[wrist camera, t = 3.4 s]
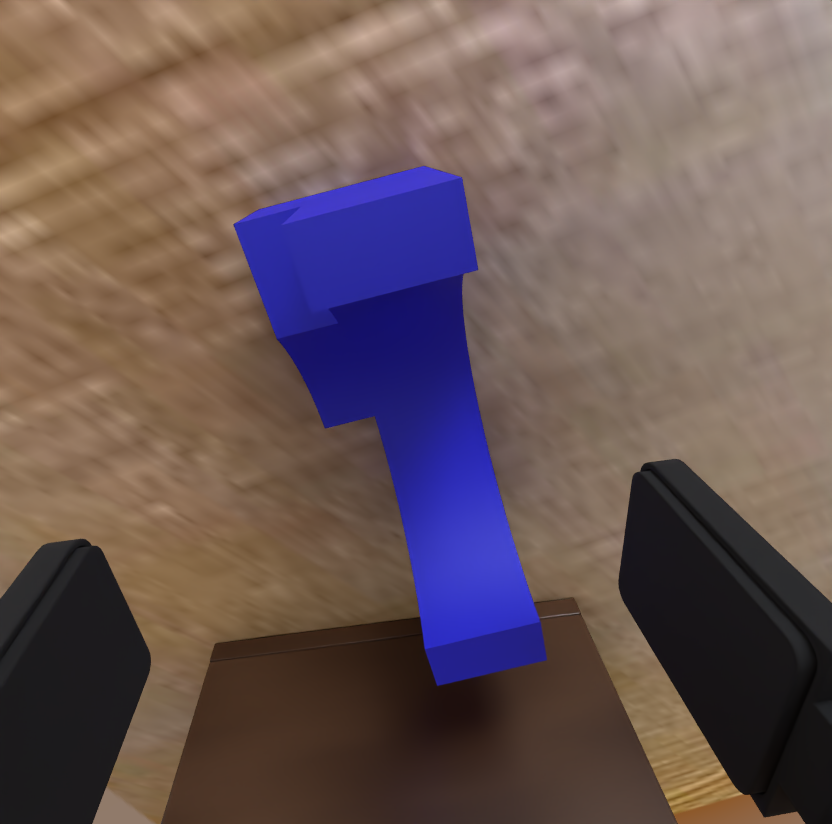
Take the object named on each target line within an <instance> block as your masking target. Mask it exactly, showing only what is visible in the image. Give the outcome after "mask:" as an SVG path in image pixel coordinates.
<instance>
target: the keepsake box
mask: <svg viewBox="0 0 832 824" xmlns="http://www.w3.org/2000/svg"><path fill="white" fill-rule="evenodd" d="M534 605H535V608H536V611H537V614H538V616H539V619H540V622H541V628H542V633H543V639H544V645H545V650H546V656H547V660H545V661H541V662H537V663H533V664H528V665H524V666H520V667H516V668H511V669H507V670H503V671H499V672H494V673H490V674H486V675H482V676H477V677H473V678H469V679H465V680H460V681H456V682H452V683H448V684H443V685H439V686H437V684H436V681H435V678H434V675H433V672H432V669H431V666H430V663H429V660H428V657H427V654H426V651H425V647H424V639H423V632H422V625H421V618H414V619H407V620H399V621H391V622H383V623H375V624H368V625H360V626H352V627H344V628H336V629H328V630H321V631H313V632H305V633H297V634H289V635H281V636H274V637H266V638H258V639H250V640H242V641H235V642H227V643H219V644H215V645H214V649H213V652H212V655H211V658H210V664H209V667H208V670H207V673H206V677H205V680H204V683H203V687H202V690H201V693H200V697H199V700H198V703H197V706H196V710H195V713H194V716H193V720H192V723H191V726H190V730H189V733H188V736H187V739H186V743H185V746H184V749H183V753H182V756H181V759H180V763H179V766H178V769H177V773H176V776H175V779H174V782H173V786H172V789H171V792H170V796H169V799H168V802H167V806H166V809H165V812H164V816H163V819H162V822H161V824H678V823H677V821H676V819H675V817H674V815H673V812H672V810H671V808H670V806H669V804H668V802H667V799H666V797H665V795H664V793H663V791H662V789H661V787H660V784H659V782H658V780H657V778H656V776H655V774H654V771H653V769H652V767H651V765H650V763H649V761H648V758H647V756H646V754H645V752H644V750H643V748H642V745H641V743H640V741H639V739H638V737H637V735H636V732H635V730H634V728H633V726H632V724H631V722H630V719H629V717H628V715H627V713H626V711H625V709H624V707H623V704H622V702H621V700H620V698H619V696H618V694H617V691H616V689H615V687H614V685H613V683H612V681H611V678H610V676H609V674H608V672H607V670H606V668H605V665H604V663H603V661H602V659H601V657H600V655H599V652H598V650H597V648H596V646H595V644H594V642H593V640H592V637H591V635H590V633H589V631H588V629H587V627H586V624H585V622H584V620H583V618H582V616H581V613H580V610H579V608H578V606H577V604H576V602H575V600H574V598H571V599H563V600H555V601H547V602H540V603H534Z"/></svg>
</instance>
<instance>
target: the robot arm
mask: <svg viewBox="0 0 832 824" xmlns="http://www.w3.org/2000/svg"><path fill="white" fill-rule="evenodd" d="M619 590H620V594H621V597H622V599H623V601H624V603H625V605H626V607H627V608H628V610H629V612H630V613H631V615H632V617H633V618H634V620H635V622H636V623H637V625H638V627H639V628H640V630H641V632H642V633H643V635H644V637H645V638H646V640H647V642H648V643H649V645H650V647H651V648H652V650H653V652H654V653H655V655H656V657H657V658H658V660H659V662H660V663H661V665H662V667H663V668H664V670H665V672H666V673H667V675H668V677H669V678H670V680H671V682H672V683H673V685H674V687H675V688H676V690H677V691H678V693H679V695H680V696H681V698H682V700H683V701H684V703H685V705H686V706H687V708H688V710H689V711H690V713H691V715H692V716H693V718H694V720H695V721H696V723H697V725H698V726H699V728H700V730H701V731H702V733H703V735H704V736H705V738H706V740H707V741H708V743H709V745H710V746H711V748H712V750H713V751H714V753H715V755H716V756H717V758H718V760H719V761H720V763H721V765H722V766H723V768H724V770H725V771H726V773H727V775H728V776H729V778H730V780H731V781H732V783H733V784H734V786H735V787H736V788H737V789H738V790H739V791H740V792H741V793H743V794H744V795H749V794H750V795H751V797H752V799H753V800H754V802H755V803H756V805H757V807H758V808H759V810H760V812H761V813H762V815H763V816H764V817H770V816H775V815H780V814H786V813H791V812H798V813H799V815H800V816H801V817H802V819H803V821H804V822H805V824H832V603H831V602H830V601H829V600H828V599H827V598H826V597H825V596H824V595H823V594H822V593H821V592H820V591H819V590H818V589H817V588H815V587H814V586H813V585H812V584H811V583H810V582H809V581H808V580H807V579H806V578H805V577H804V576H803V575H802V574H801V573H800V572H799V571H798V570H796V569H795V568H794V567H793V566H792V565H791V564H790V563H789V562H788V561H787V560H786V559H785V558H784V557H783V556H782V555H781V554H780V553H779V552H778V551H776V550H775V549H774V548H773V547H772V546H771V545H770V544H769V543H768V542H767V541H766V540H765V539H764V538H763V537H762V536H761V535H760V534H759V533H757V532H756V531H755V530H754V529H753V528H752V527H751V526H750V525H749V524H748V523H747V522H746V521H745V520H744V519H743V518H742V517H741V516H740V515H739V514H737V513H736V512H735V511H734V510H733V509H732V508H731V507H730V506H729V505H728V504H727V503H726V502H725V501H724V500H723V499H722V498H721V497H720V496H718V495H717V494H716V493H715V492H714V491H713V490H712V489H711V488H710V487H709V486H708V485H707V484H706V483H705V482H704V481H703V480H702V479H701V478H700V477H698V476H697V475H696V474H695V473H694V472H693V471H692V470H691V469H690V468H689V467H688V466H687V465H686V464H685V463H684V462H682V461H681V460H679V459H671V460H664V461H656V462H649V463H645V464H644V465H643V466H642V468H641V471H640V472H637V473H635V474H634V475H633V479H632V485H631V492H630V499H629V507H628V514H627V522H626V529H625V536H624V544H623V551H622V559H621V566H620V573H619ZM150 665H151V657H150V652H149V649H148V647H147V645H146V643H145V641H144V639H143V637H142V634H141V632H140V630H139V628H138V626H137V624H136V622H135V619H134V617H133V615H132V613H131V611H130V609H129V607H128V605H127V602H126V600H125V598H124V596H123V594H122V592H121V590H120V588H119V585H118V583H117V581H116V579H115V577H114V575H113V573H112V571H111V568H110V566H109V564H108V562H107V560H106V558H105V556H104V553H103V552H102V550H101V548H99V547H98V546H92V545H91V544H90V542H88V541H87V540H86V539H76V540H69V541H61V542H54V543H47V544H45V545H43V546H42V547H41V548H40V549H39V550H38V551H37V552H36V553H35V555H34V556H33V557H32V559H31V560H30V561H29V562H28V564H27V565H26V566H25V568H24V569H23V570H22V572H21V573H20V574H19V575H18V577H17V578H16V579H15V581H14V582H13V583H12V585H11V586H10V587H9V589H8V590H7V591H6V592H5V594H4V595H3V596H2V598H1V599H0V824H92V823H93V820H94V818H95V815H96V812H97V810H98V807H99V804H100V802H101V799H102V796H103V794H104V791H105V789H106V786H107V783H108V781H109V778H110V775H111V773H112V770H113V767H114V765H115V762H116V759H117V757H118V754H119V752H120V749H121V746H122V744H123V741H124V738H125V736H126V733H127V730H128V728H129V725H130V722H131V720H132V717H133V714H134V712H135V709H136V707H137V704H138V701H139V699H140V696H141V693H142V691H143V688H144V685H145V683H146V680H147V677H148V675H149V671H150Z"/></svg>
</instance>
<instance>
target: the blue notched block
mask: <svg viewBox="0 0 832 824" xmlns="http://www.w3.org/2000/svg"><path fill="white" fill-rule="evenodd" d="M234 227H235V230H236V232H237V235H238V238H239V240H240V243H241V246H242V248H243V251H244V253H245V256H246V259H247V261H248V264H249V267H250V269H251V272H252V275H253V277H254V280H255V282H256V285H257V288H258V290H259V293H260V296H261V298H262V301H263V304H264V306H265V309H266V311H267V314H268V317H269V319H270V322H271V325H272V327H273V330H274V333H275V335H276V338H277V340H278V341H279V342H280V343H281V344H282V346H283V347H284V348H285V349H286V351H287V352H288V354H289V355H290V357H291V358H292V360H293V361H294V363H295V365H296V366H297V368H298V370H299V372H300V373H301V375H302V377H303V379H304V381H305V383H306V385H307V387H308V389H309V391H310V393H311V396H312V398H313V400H314V402H315V405H316V407H317V409H318V412H319V414H320V417H321V420H322V422H323V425H324V427H325V428H329V427H333V426H337V425H341V424H345V423H349V422H353V421H357V420H361V419H365V418H369V417H373V416H375V419H376V422H377V425H378V429H379V432H380V435H381V439H382V442H383V446H384V449H385V453H386V457H387V461H388V464H389V468H390V472H391V476H392V480H393V484H394V488H395V492H396V496H397V500H398V504H399V509H400V513H401V517H402V522H403V526H404V531H405V536H406V540H407V545H408V550H409V555H410V560H411V565H412V571H413V576H414V581H415V587H416V593H417V599H418V605H419V611H420V618H421V625H422V632H423V639H424V647H425V651H426V654H427V657H428V660H429V663H430V666H431V669H432V672H433V675H434V678H435V681H436V684H437V686H439V685H443V684H448V683H452V682H456V681H460V680H465V679H469V678H473V677H477V676H482V675H486V674H490V673H494V672H499V671H503V670H507V669H511V668H516V667H520V666H524V665H528V664H533V663H537V662H541V661H545V660H547V656H546V650H545V645H544V639H543V633H542V628H541V622H540V619H539V616H538V614H537V611H536V608H535V605H534V603H533V600H532V597H531V594H530V591H529V588H528V585H527V582H526V579H525V576H524V573H523V570H522V567H521V564H520V561H519V557H518V554H517V551H516V548H515V544H514V541H513V538H512V535H511V531H510V528H509V524H508V521H507V518H506V514H505V511H504V507H503V503H502V500H501V496H500V493H499V489H498V485H497V481H496V478H495V474H494V470H493V466H492V462H491V458H490V454H489V450H488V446H487V442H486V438H485V433H484V429H483V425H482V420H481V416H480V411H479V407H478V402H477V397H476V392H475V387H474V382H473V377H472V371H471V366H470V360H469V354H468V348H467V341H466V334H465V326H464V317H463V305H462V281H463V274H464V273H468V272H472V271H476V270H478V265H477V260H476V254H475V248H474V243H473V237H472V231H471V226H470V220H469V214H468V209H467V203H466V197H465V192H464V186H463V180H462V177H459V176H455V175H452V174H449V173H445V172H442V171H439V170H436V169H432V168H429V167H426V166H422V167H418V168H414V169H411V170H407V171H403V172H399V173H395V174H392V175H388V176H384V177H380V178H377V179H373V180H369V181H365V182H361V183H358V184H354V185H350V186H346V187H342V188H339V189H335V190H331V191H327V192H323V193H320V194H316V195H312V196H308V197H304V198H301V199H297V200H293V201H289V202H286V203H282V204H278V205H274V206H270V207H267V208H263V209H259V210H257V211H255V212H254V213H252V214H250V215H249V216H247V217H245V218H243V219H242V220H240V221H238V222H237V223H235V224H234Z"/></svg>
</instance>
